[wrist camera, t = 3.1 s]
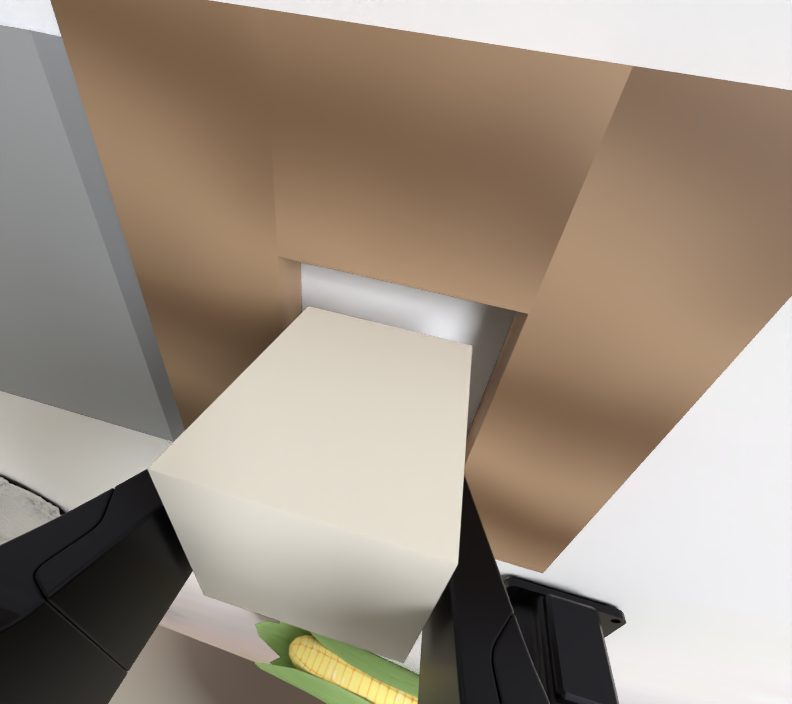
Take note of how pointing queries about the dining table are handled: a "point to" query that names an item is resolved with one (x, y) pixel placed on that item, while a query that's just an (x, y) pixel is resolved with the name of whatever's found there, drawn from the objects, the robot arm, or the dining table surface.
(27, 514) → the grey stone disc
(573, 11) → the dining table surface
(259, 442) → the white block
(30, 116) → the grey mat
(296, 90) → the pocket plate
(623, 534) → the dining table surface
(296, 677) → the edible corn
